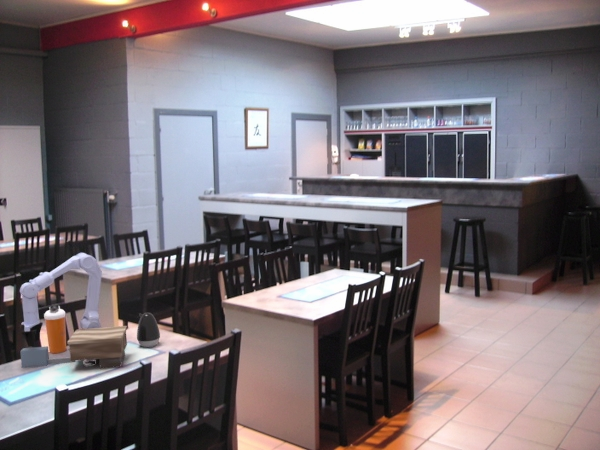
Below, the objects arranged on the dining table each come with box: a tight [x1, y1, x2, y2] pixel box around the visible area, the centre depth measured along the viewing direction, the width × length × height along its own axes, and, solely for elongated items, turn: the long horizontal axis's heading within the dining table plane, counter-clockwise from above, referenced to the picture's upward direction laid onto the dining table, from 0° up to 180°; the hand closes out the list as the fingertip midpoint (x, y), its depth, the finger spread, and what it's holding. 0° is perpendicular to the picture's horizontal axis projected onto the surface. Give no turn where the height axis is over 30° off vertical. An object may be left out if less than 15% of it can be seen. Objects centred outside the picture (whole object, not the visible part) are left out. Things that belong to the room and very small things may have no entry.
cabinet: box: [66, 325, 128, 369], centre depth 260 cm, size 17×21×13 cm
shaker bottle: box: [43, 305, 67, 354], centre depth 278 cm, size 9×9×20 cm
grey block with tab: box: [20, 345, 76, 369], centre depth 262 cm, size 4×21×7 cm, turn 98°
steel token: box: [82, 359, 97, 367], centre depth 261 cm, size 5×5×2 cm
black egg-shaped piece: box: [136, 312, 161, 348], centre depth 281 cm, size 10×10×15 cm
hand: (33, 343), depth 260 cm, fingers open, 7 cm apart
